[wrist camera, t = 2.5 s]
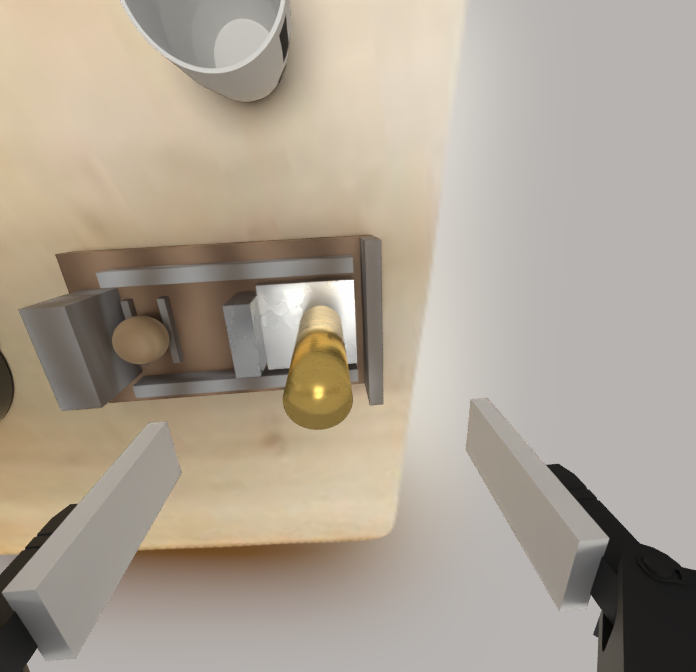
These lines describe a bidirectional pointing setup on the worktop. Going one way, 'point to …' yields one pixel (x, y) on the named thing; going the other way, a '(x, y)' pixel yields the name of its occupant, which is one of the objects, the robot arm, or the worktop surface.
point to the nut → (140, 339)
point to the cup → (220, 41)
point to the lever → (299, 343)
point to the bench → (189, 316)
